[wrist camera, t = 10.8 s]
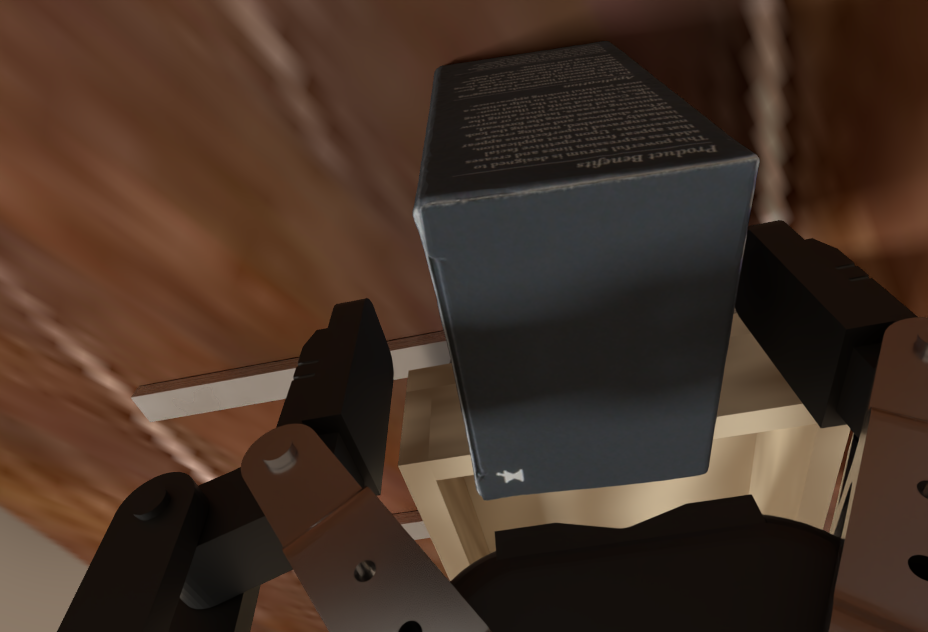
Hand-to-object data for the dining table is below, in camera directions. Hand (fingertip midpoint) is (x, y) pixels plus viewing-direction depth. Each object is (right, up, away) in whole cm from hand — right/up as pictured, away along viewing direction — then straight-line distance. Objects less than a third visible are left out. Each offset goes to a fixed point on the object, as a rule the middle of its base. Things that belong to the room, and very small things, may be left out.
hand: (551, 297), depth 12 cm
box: (0, +5, +7) cm, 9 cm away
